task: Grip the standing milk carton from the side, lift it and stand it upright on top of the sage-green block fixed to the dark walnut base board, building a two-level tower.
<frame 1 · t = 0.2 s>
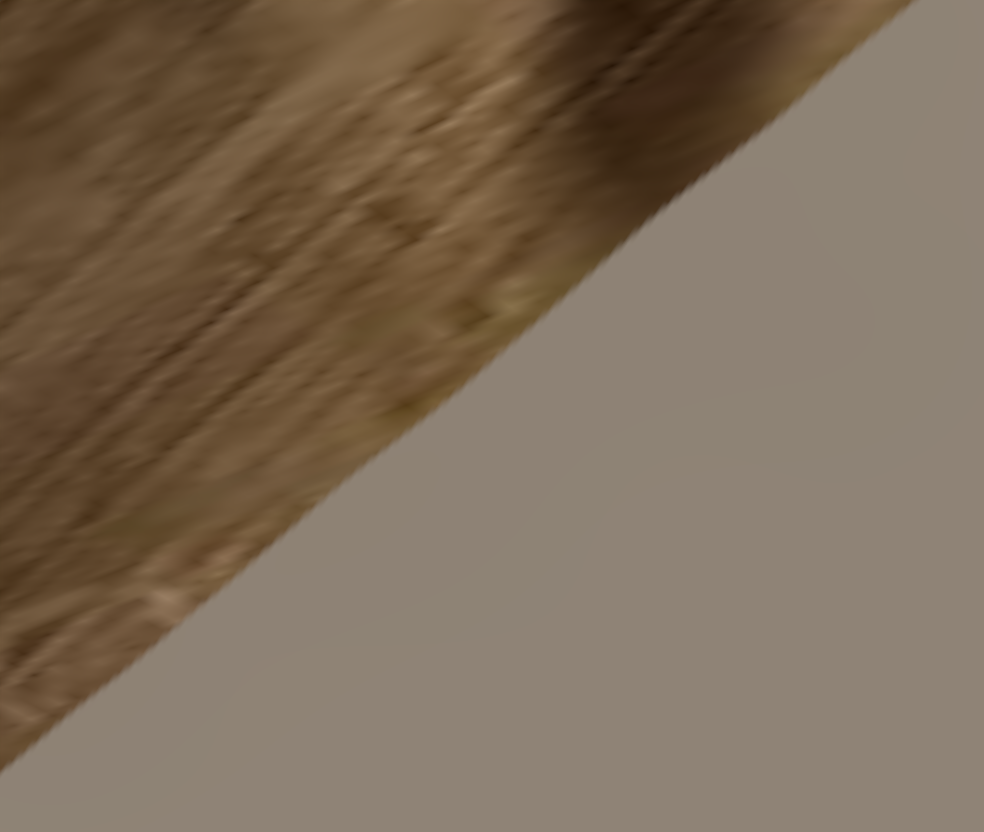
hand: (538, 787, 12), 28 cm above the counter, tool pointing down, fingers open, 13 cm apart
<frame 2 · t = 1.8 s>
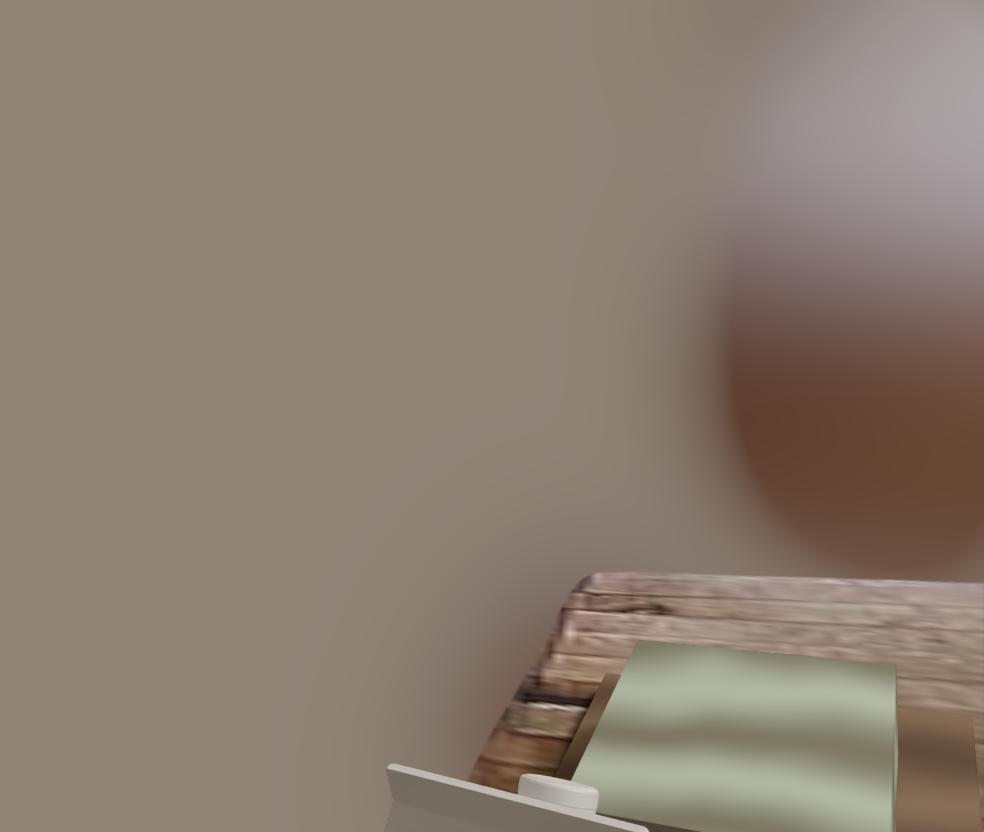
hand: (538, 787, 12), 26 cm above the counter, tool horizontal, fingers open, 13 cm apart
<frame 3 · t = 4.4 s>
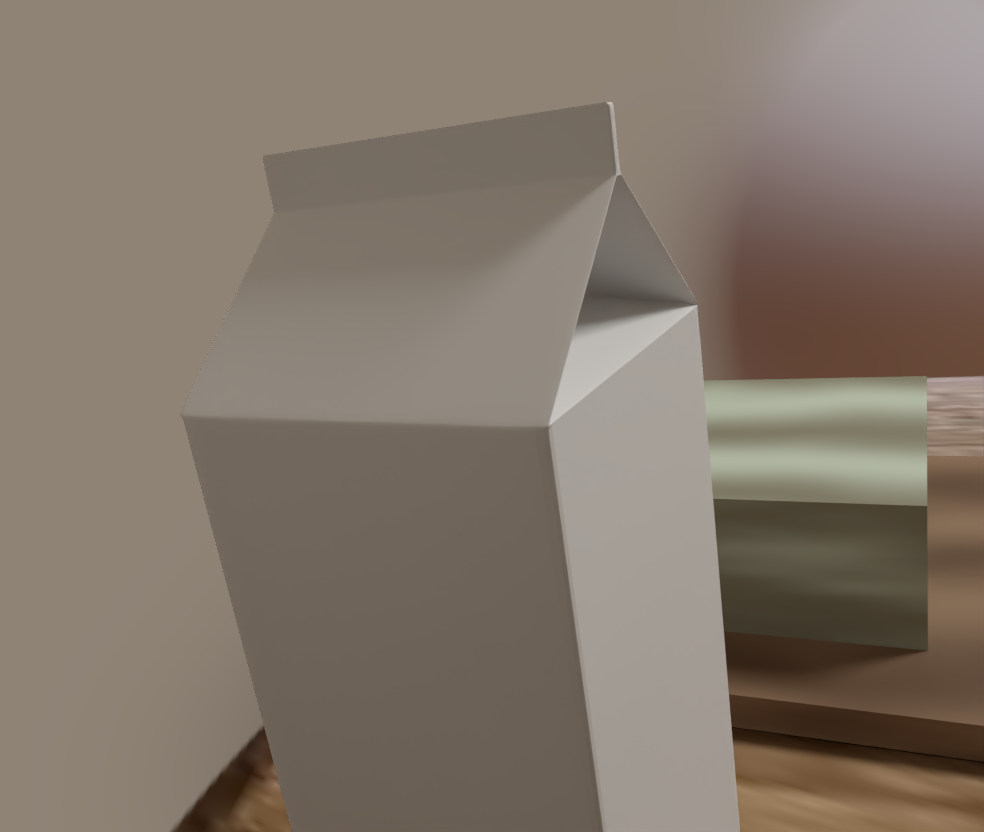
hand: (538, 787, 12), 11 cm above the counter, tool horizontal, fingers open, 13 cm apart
tower base: (752, 571, 38), on the counter
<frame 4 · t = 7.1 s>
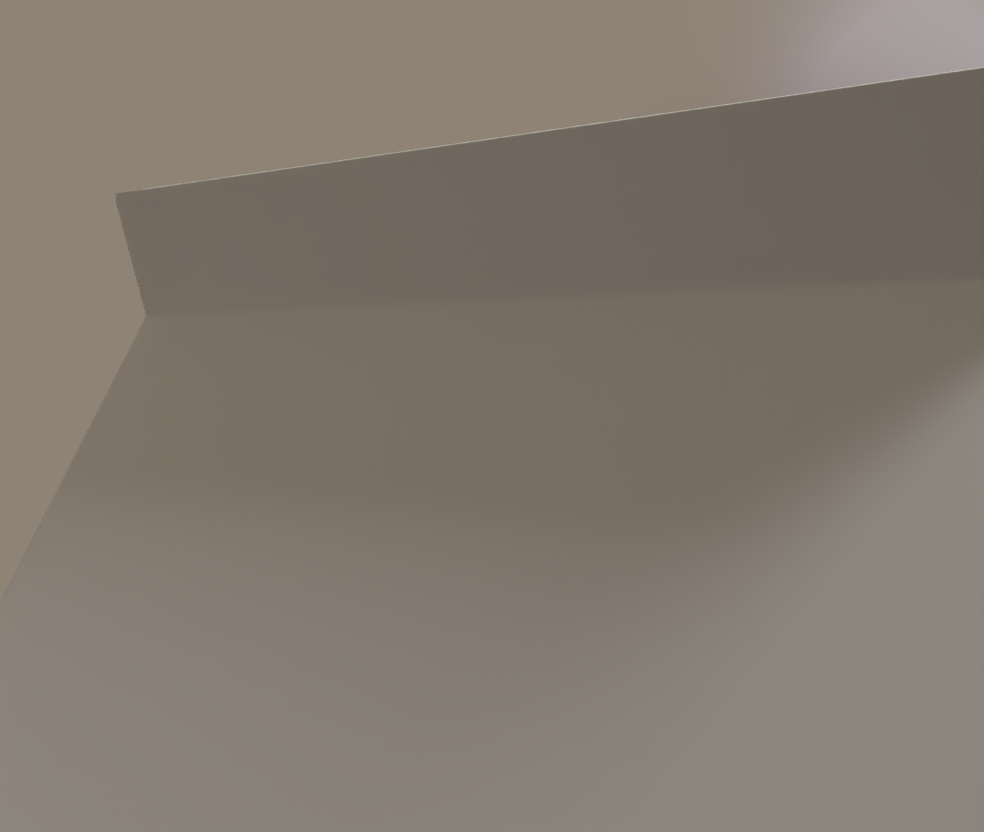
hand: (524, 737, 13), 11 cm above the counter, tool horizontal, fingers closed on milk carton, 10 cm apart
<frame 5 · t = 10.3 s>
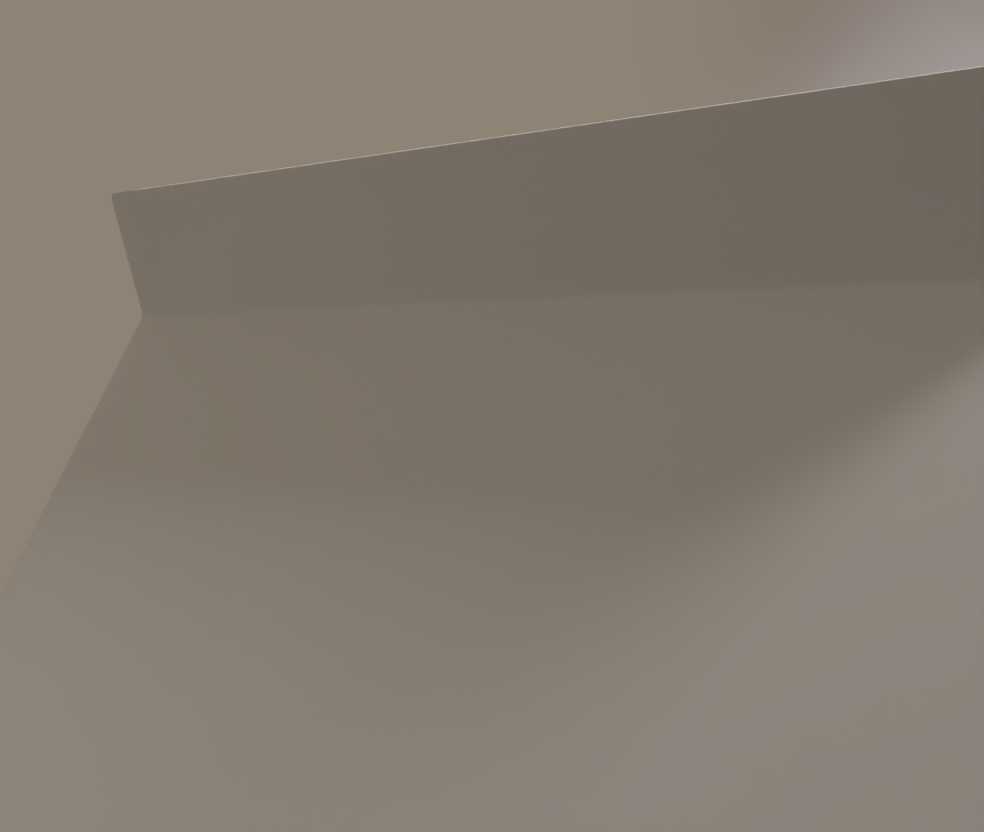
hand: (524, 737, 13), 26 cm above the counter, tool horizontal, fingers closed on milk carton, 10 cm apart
when the fingers open (19 cm above the counter, at t = 13.7 s): milk carton drops 1 cm, resting on tower base.
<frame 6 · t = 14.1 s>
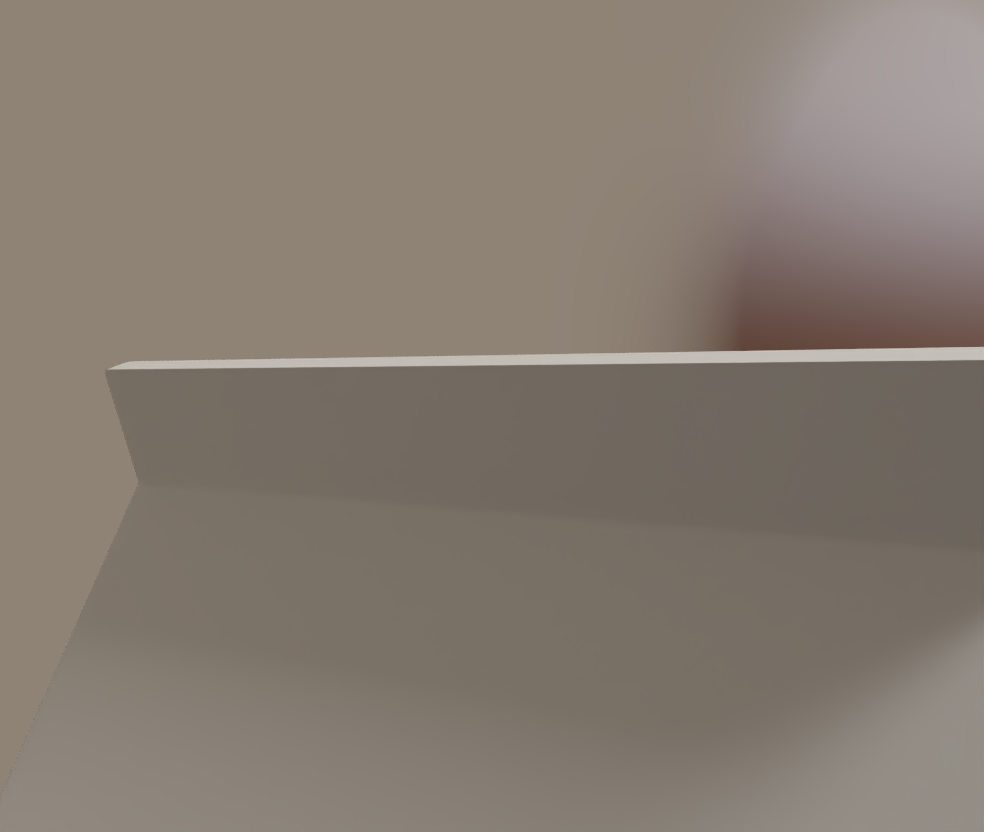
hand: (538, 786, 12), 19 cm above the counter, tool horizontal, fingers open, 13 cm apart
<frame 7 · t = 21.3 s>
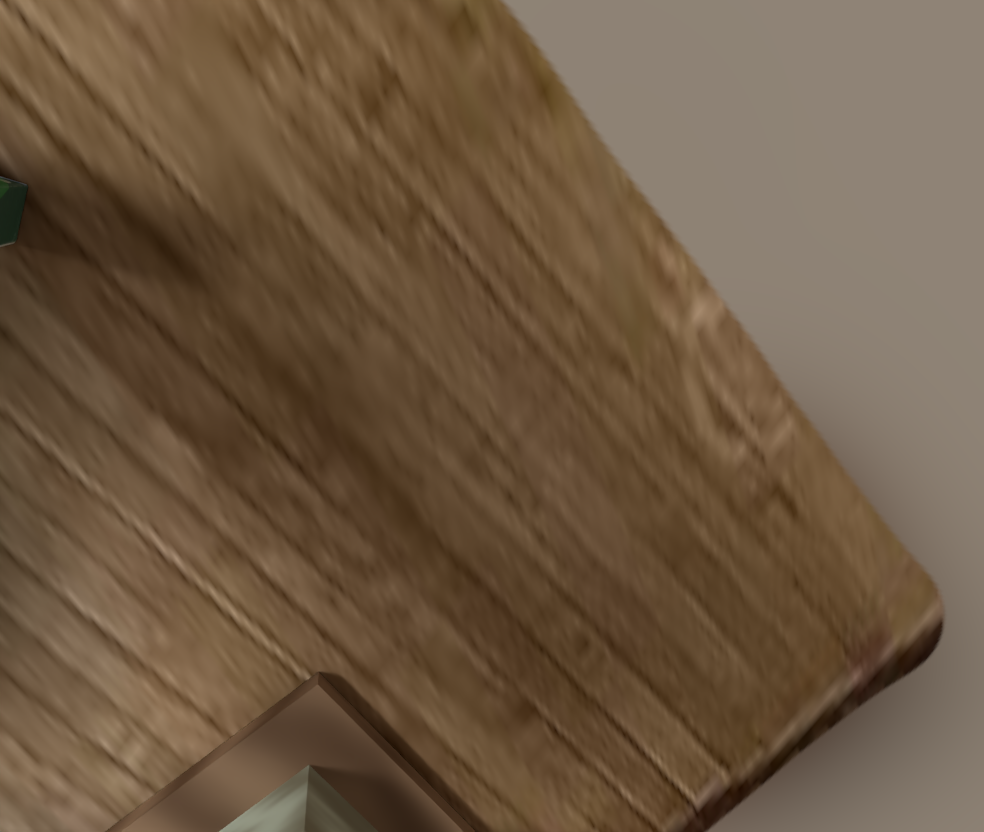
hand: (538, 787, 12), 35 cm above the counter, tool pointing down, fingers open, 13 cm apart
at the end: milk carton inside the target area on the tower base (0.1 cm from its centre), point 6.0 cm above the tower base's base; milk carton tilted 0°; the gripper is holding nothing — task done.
